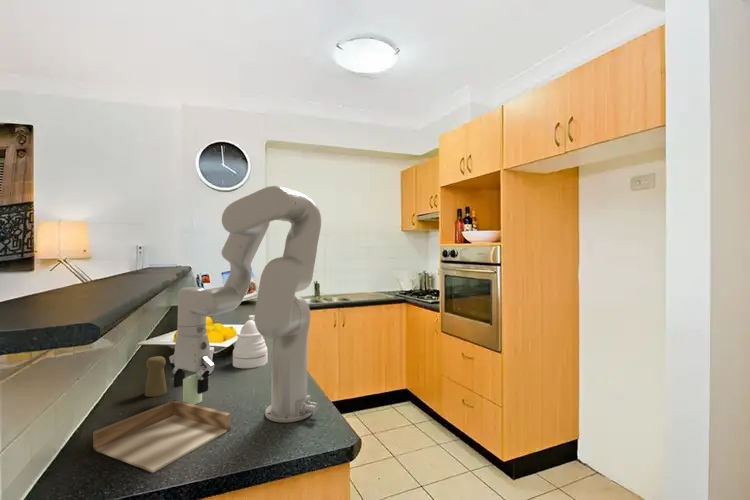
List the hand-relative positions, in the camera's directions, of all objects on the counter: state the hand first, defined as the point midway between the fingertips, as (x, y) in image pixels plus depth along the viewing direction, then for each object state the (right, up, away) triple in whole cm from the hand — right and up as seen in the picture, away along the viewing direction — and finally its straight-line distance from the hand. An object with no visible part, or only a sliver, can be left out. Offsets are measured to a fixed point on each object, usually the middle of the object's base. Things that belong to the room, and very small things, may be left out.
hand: (190, 389), depth 111 cm
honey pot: (+5, -4, +38) cm, 38 cm away
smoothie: (-6, -4, +22) cm, 23 cm away
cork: (-14, -4, +7) cm, 16 cm away
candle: (+1, -4, 0) cm, 4 cm away
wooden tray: (+5, -4, -22) cm, 23 cm away
